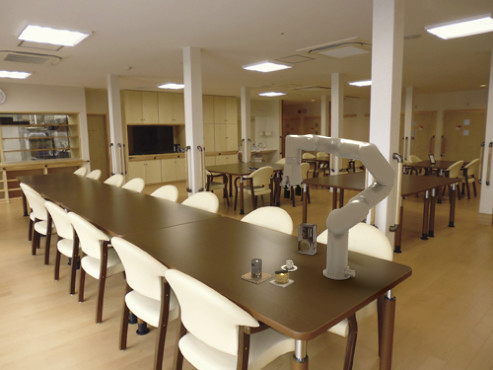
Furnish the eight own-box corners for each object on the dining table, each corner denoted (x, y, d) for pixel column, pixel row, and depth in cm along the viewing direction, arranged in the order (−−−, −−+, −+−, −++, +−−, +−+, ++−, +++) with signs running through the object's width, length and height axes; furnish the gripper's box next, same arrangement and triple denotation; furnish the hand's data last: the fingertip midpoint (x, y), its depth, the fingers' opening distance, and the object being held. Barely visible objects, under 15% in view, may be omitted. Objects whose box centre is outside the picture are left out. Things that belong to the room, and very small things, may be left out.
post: (271, 277, 164) (271, 259, 163) (258, 284, 156) (258, 265, 155) (254, 271, 170) (254, 255, 169) (241, 278, 163) (241, 260, 162)
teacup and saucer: (287, 264, 182) (287, 256, 181) (301, 267, 177) (301, 259, 176) (278, 269, 175) (278, 261, 175) (291, 272, 170) (291, 264, 170)
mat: (293, 282, 159) (293, 280, 158) (283, 287, 152) (283, 286, 152) (279, 277, 164) (279, 276, 164) (269, 283, 158) (269, 281, 158)
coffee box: (316, 252, 199) (317, 224, 196) (312, 255, 193) (313, 227, 191) (301, 249, 203) (302, 222, 201) (297, 252, 198) (297, 225, 196)
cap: (284, 277, 162) (285, 267, 161) (291, 282, 156) (291, 272, 155) (272, 279, 160) (272, 269, 159) (278, 285, 154) (278, 274, 153)
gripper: (296, 159, 175) (295, 193, 177) (276, 162, 162) (275, 198, 164) (309, 160, 170) (308, 195, 172) (289, 162, 157) (289, 200, 159)
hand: (292, 197), depth 168 cm, fingers open, 9 cm apart
